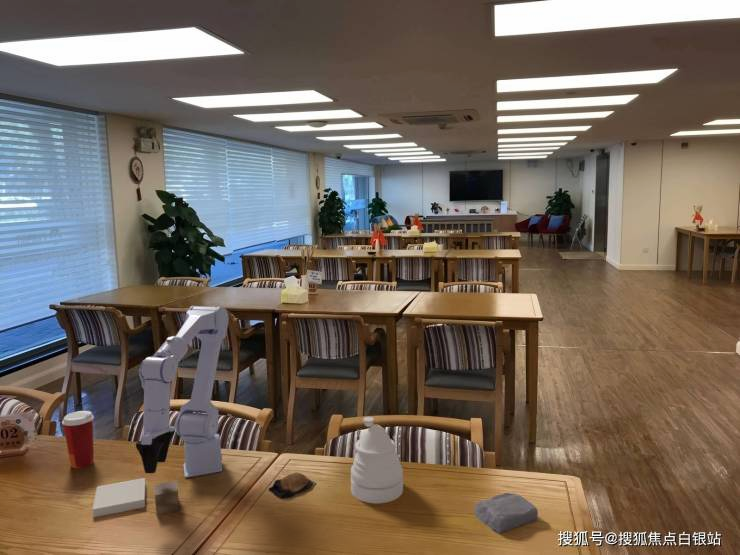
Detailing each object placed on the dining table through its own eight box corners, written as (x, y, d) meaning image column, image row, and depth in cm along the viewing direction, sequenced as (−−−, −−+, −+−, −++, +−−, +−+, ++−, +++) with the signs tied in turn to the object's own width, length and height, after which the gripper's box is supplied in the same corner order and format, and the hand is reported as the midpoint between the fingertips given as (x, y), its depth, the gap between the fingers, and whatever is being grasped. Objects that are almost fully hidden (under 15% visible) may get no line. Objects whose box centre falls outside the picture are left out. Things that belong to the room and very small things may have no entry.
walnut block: (178, 500, 134) (177, 480, 134) (179, 510, 130) (177, 490, 129) (156, 504, 132) (154, 484, 132) (156, 515, 128) (154, 495, 127)
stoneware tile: (145, 485, 141) (145, 477, 141) (144, 507, 131) (144, 499, 131) (97, 494, 137) (96, 486, 137) (93, 517, 127) (92, 509, 127)
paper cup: (103, 457, 157) (99, 410, 155) (87, 470, 149) (82, 421, 147) (77, 456, 158) (72, 409, 156) (59, 469, 150) (54, 420, 148)
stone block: (470, 522, 126) (500, 536, 118) (468, 500, 127) (497, 513, 118) (511, 509, 132) (541, 522, 123) (509, 489, 132) (539, 500, 123)
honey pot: (342, 497, 134) (340, 426, 132) (363, 473, 146) (361, 407, 143) (392, 507, 129) (391, 434, 127) (409, 481, 141) (409, 413, 139)
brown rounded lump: (298, 476, 146) (298, 462, 146) (319, 487, 140) (318, 473, 140) (264, 491, 139) (264, 477, 138) (284, 503, 133) (284, 489, 132)
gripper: (165, 415, 123) (163, 477, 122) (182, 402, 137) (181, 457, 137) (132, 415, 122) (130, 478, 122) (153, 401, 137) (152, 457, 136)
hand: (155, 467), depth 129 cm, fingers open, 7 cm apart
